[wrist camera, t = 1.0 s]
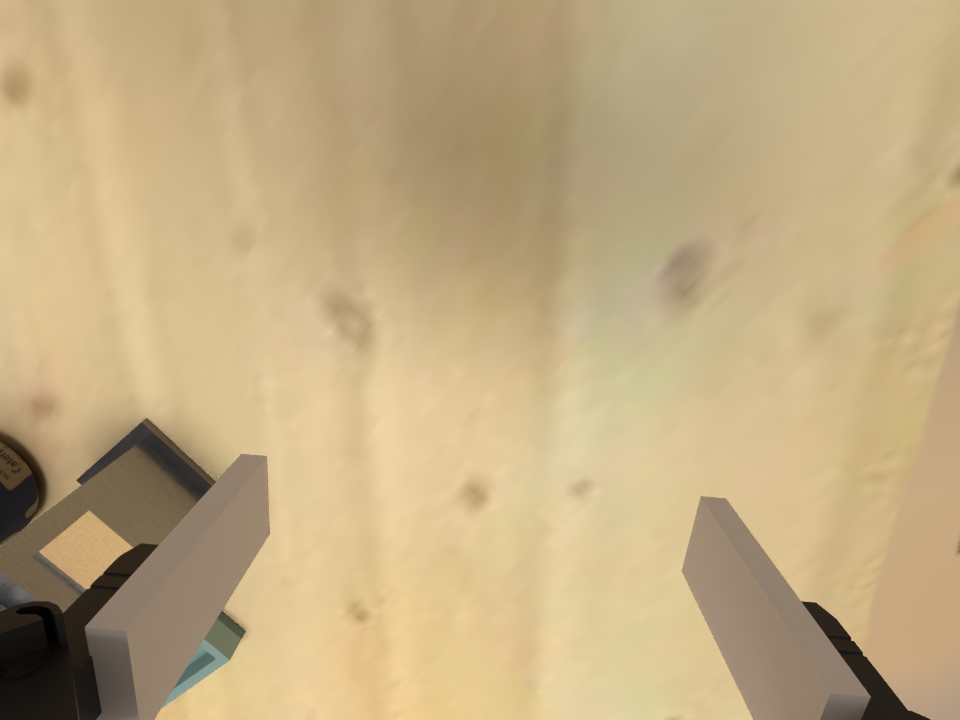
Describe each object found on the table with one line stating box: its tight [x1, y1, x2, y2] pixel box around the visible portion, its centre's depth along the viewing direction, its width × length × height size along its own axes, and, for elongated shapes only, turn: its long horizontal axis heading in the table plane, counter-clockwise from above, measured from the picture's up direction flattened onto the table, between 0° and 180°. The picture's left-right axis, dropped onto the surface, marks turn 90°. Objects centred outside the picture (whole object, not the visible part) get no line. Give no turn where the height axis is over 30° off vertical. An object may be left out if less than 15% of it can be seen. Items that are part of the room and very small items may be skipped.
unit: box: [0, 419, 216, 613], centre depth 36 cm, size 11×8×16 cm
